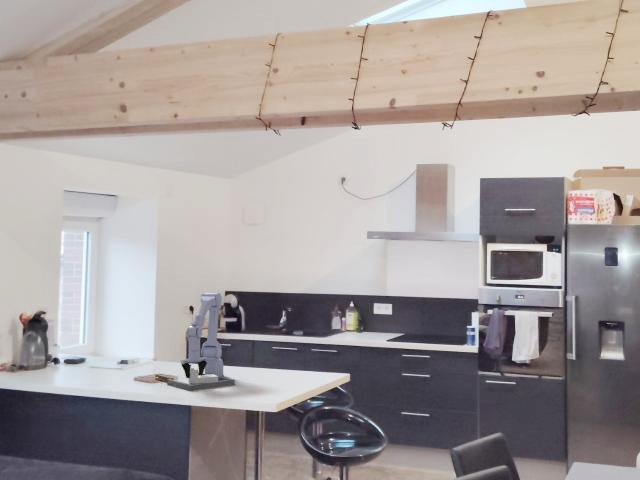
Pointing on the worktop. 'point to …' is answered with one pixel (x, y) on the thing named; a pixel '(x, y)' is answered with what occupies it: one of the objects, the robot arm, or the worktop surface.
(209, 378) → the bracket
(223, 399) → the worktop surface
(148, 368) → the worktop surface
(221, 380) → the gray u-shaped frame
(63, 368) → the worktop surface
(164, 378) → the brown rectangular beams
